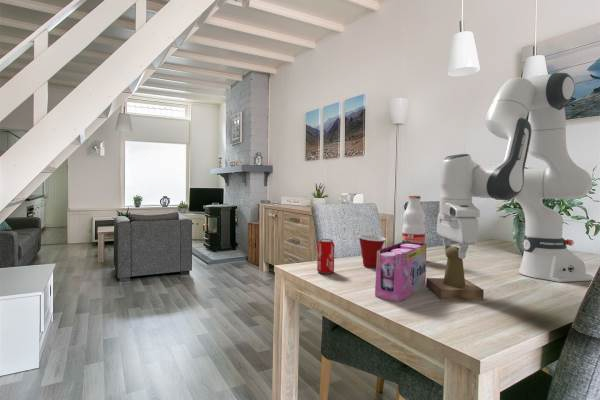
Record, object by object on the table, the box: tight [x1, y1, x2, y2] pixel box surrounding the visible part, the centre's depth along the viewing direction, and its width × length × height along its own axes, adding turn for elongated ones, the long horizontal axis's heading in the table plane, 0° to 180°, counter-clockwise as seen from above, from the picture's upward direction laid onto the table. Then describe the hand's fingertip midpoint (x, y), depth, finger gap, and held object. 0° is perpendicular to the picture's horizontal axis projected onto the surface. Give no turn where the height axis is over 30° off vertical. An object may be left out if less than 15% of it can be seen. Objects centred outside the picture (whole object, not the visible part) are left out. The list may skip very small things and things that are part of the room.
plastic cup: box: [357, 234, 387, 269], centre depth 138 cm, size 11×11×12 cm
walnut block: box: [425, 277, 484, 301], centre depth 104 cm, size 12×12×3 cm
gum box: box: [374, 241, 428, 303], centre depth 107 cm, size 24×8×14 cm, turn 143°
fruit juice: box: [401, 195, 426, 244], centre depth 149 cm, size 9×9×28 cm
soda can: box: [316, 238, 335, 275], centre depth 127 cm, size 6×6×12 cm
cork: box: [443, 246, 466, 287], centre depth 103 cm, size 6×6×11 cm
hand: (454, 254), depth 104 cm, fingers open, 8 cm apart
